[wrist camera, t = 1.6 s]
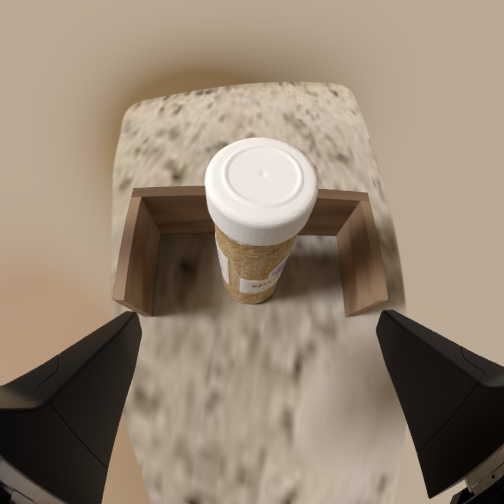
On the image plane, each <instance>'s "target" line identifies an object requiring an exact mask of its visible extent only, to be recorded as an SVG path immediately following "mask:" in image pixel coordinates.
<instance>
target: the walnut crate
mask: <svg viewBox="0 0 504 504" xmlns="http://www.w3.org/2000/svg"><path fill="white" fill-rule="evenodd" d="M161 234H215V223H214V221H213V219H212V217H211V215H210V213H209V210H208V205H207V199H206V190H205V186H174V187H149V188H133V192H132V196H131V200H130V205H129V209H128V213H127V218H126V222H125V227H124V232H123V237H122V242H121V248H120V253H119V259H118V265H117V272H116V279H115V286H114V294H113V300H115V301H116V302H118V303H120V304H122V305H123V306H125V307H127V308H129V309H131V310H133V311H135V312H136V313H138V314H140V315H142V316H150V317H152V310H153V298H154V286H155V276H156V267H157V259H158V251H159V243H160V236H161ZM297 235H326V236H336V238H337V245H338V252H339V260H340V268H341V276H342V286H343V295H344V306H345V317H349V316H355V315H358V314H360V313H362V312H364V311H366V310H369V309H371V308H373V307H375V306H377V305H379V304H381V303H383V302H385V301H387V300H388V294H387V287H386V280H385V274H384V268H383V262H382V256H381V251H380V245H379V240H378V235H377V231H376V226H375V221H374V217H373V213H372V209H371V205H370V201H369V197H368V193H364V192H353V191H341V190H328V189H318V195H317V199H316V202H315V204H314V207H313V210H312V212H311V214H310V216H309V218H308V220H307V222H306V224H305V226H304V227H303V228H302V229H301V230H300V231H299V233H297Z"/></svg>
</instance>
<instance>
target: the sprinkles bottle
mask: <svg viewBox="0 0 504 504" xmlns="http://www.w3.org/2000/svg"><path fill="white" fill-rule="evenodd" d="M205 190H206V199H207V205H208V210H209V213H210V215H211V217H212V219H213V221H214V223H215V238H216V245H217V251H218V257H219V262H220V267H221V272H222V279H223V285H224V287H225V289H226V291H227V293H228V294H229V295H230V296H231V297H232V298H233V299H234V300H236V301H238V302H241V303H245V304H255V303H259V302H261V301H263V300H265V299H266V298H268V297H269V296H270V295H271V294H272V293H273V291H274V290H275V287H276V285H277V280H278V279H279V277H280V275H281V272H282V270H283V268H284V266H285V263H286V261H287V259H288V256H289V254H290V252H291V247H292V245H293V243H294V240H295V238H296V235H297V233H299V231H300V230H301V229H302V228H303V227H304V226H305V224H306V222H307V220H308V218H309V216H310V214H311V212H312V210H313V207H314V204H315V202H316V199H317V195H318V178H317V174H316V172H315V169H314V167H313V166H312V164H311V163H310V161H309V160H308V159H307V158H306V157H305V156H304V155H303V154H302V153H301V152H300V151H299V150H297V149H296V148H294V147H293V146H291V145H289V144H287V143H284V142H281V141H278V140H275V139H269V138H248V139H243V140H240V141H237V142H234V143H232V144H229V145H228V146H226V147H224V148H223V149H222V150H220V151H219V152H218V153H217V154H216V155H215V156H214V158H213V159H212V160H211V162H210V164H209V166H208V168H207V171H206V176H205Z"/></svg>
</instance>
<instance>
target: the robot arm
mask: <svg viewBox="0 0 504 504" xmlns="http://www.w3.org/2000/svg"><path fill="white" fill-rule="evenodd" d="M376 334H377V337H378V340H379V344H380V347H381V351H382V354H383V358H384V361H385V364H386V367H387V370H388V372H389V375H390V377H391V380H392V382H393V385H394V388H395V390H396V393H397V396H398V398H399V401H400V404H401V407H402V410H403V412H404V415H405V418H406V421H407V424H408V427H409V430H410V433H411V436H412V439H413V442H414V446H415V449H416V452H417V456H418V460H419V463H420V467H421V470H422V474H423V478H424V482H425V485H426V489H427V494H428V497H429V499H431V498H433V497H435V496H437V495H439V494H440V493H442V492H444V491H446V490H448V489H449V488H451V487H453V486H455V485H456V484H458V483H460V482H461V481H462V480H465V482H466V485H467V487H466V488H465V489H463V490H462V491H460V492H459V493H457V494H455V495H454V496H453V497H452V500H451V502H450V504H504V367H503V366H501V365H499V364H496V363H494V362H492V361H490V360H488V359H485V358H483V357H481V356H479V355H477V354H475V353H473V352H471V351H469V350H467V349H466V348H464V347H462V346H459V345H458V344H456V343H454V342H452V341H451V340H449V339H447V338H445V337H443V336H441V335H439V334H438V333H436V332H434V331H432V330H430V329H428V328H426V327H424V326H423V325H421V324H419V323H417V322H415V321H413V320H411V319H409V318H407V317H405V316H404V315H402V314H400V313H398V312H396V311H394V310H383V311H382V312H381V315H380V318H379V321H378V324H377V327H376ZM141 337H142V329H141V325H140V321H139V317H138V314H137V313H136V312H131V311H126V312H124V313H122V314H121V315H119V316H118V317H116V318H115V319H113V320H111V321H110V322H108V323H107V324H105V325H103V326H102V327H100V328H99V329H97V330H96V331H94V332H92V333H91V334H89V335H88V336H86V337H84V338H83V339H82V340H80V341H78V342H77V343H75V344H74V345H72V346H70V347H69V348H67V349H66V350H64V351H63V352H61V353H60V354H59V355H56V356H55V357H53V358H52V359H50V360H49V361H47V362H45V363H44V364H42V365H40V366H39V367H37V368H35V369H33V370H31V371H30V372H28V373H26V374H24V375H23V376H20V377H18V378H17V379H15V380H13V381H11V382H9V383H7V384H5V385H2V386H0V504H101V503H102V498H103V492H104V487H105V482H106V477H107V472H108V467H109V462H110V458H111V454H112V450H113V446H114V441H115V437H116V433H117V429H118V426H119V422H120V419H121V415H122V411H123V408H124V404H125V401H126V397H127V394H128V391H129V387H130V384H131V381H132V378H133V375H134V371H135V367H136V362H137V357H138V352H139V347H140V342H141Z"/></svg>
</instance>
